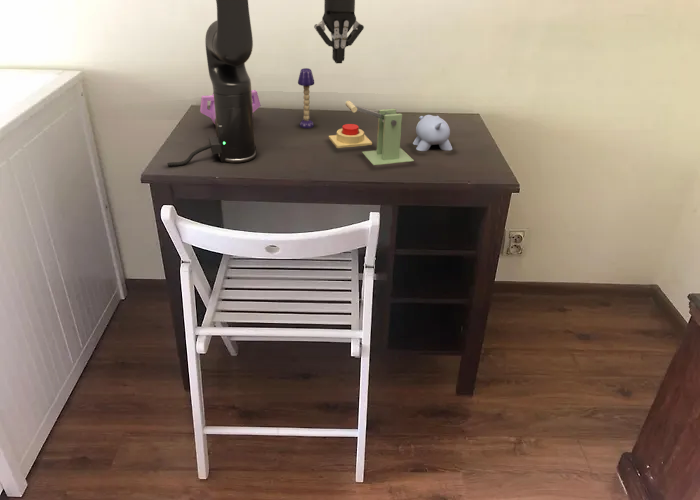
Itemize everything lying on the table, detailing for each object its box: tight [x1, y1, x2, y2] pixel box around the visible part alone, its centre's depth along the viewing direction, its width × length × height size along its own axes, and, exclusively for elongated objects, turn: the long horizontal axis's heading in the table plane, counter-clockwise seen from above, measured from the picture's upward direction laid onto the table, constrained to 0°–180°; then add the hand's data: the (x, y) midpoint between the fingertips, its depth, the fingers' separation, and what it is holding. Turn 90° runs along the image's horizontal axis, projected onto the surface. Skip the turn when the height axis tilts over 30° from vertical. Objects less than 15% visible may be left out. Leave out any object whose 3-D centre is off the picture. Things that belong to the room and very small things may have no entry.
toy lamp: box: [297, 67, 315, 129], centre depth 171 cm, size 5×5×17 cm
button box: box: [328, 128, 373, 149], centre depth 163 cm, size 10×8×4 cm
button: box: [341, 123, 360, 135], centre depth 162 cm, size 4×4×2 cm
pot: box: [199, 89, 262, 125], centre depth 171 cm, size 18×17×12 cm
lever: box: [345, 100, 390, 122], centre depth 147 cm, size 13×5×2 cm, turn 108°
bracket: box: [361, 108, 415, 166], centre depth 152 cm, size 11×9×13 cm
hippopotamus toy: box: [412, 114, 453, 152], centre depth 162 cm, size 11×15×10 cm
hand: (338, 62), depth 154 cm, fingers closed
